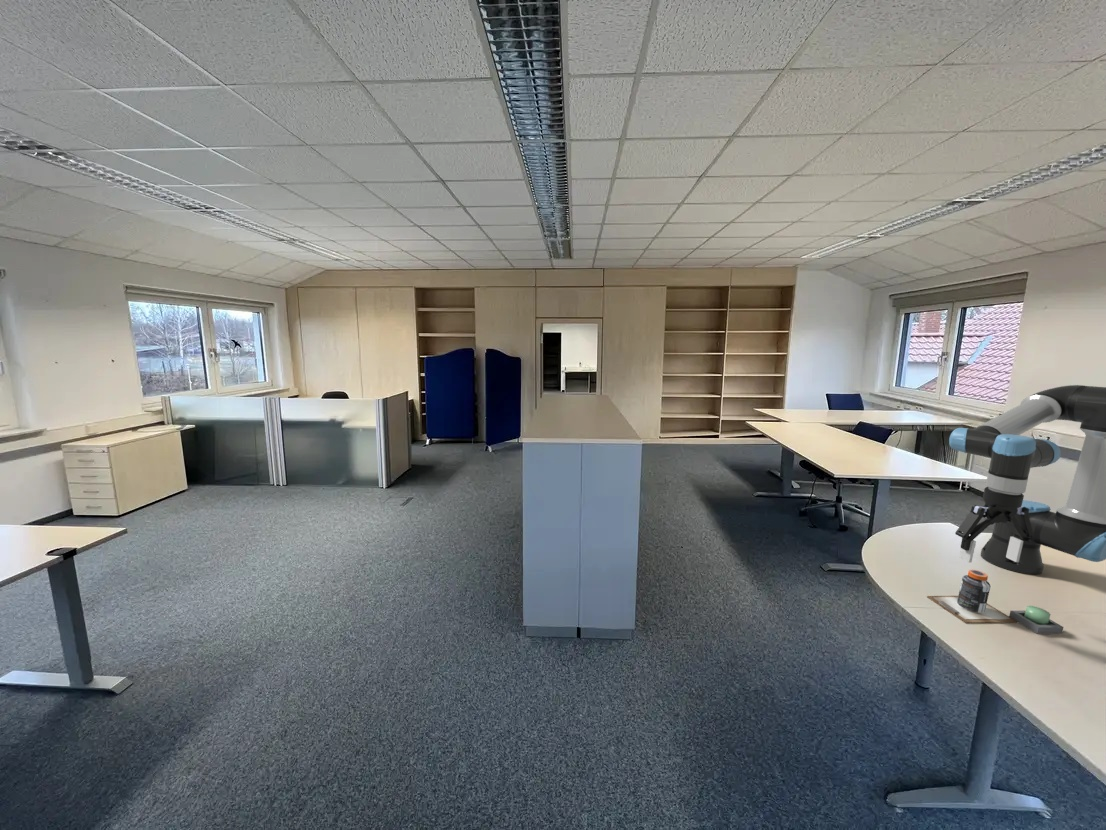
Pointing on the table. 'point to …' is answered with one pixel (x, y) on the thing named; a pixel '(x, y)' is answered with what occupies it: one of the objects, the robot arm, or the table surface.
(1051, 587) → the table surface
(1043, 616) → the button
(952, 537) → the table surface
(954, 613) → the clipboard
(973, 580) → the pill bottle
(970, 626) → the table surface
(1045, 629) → the button frame
